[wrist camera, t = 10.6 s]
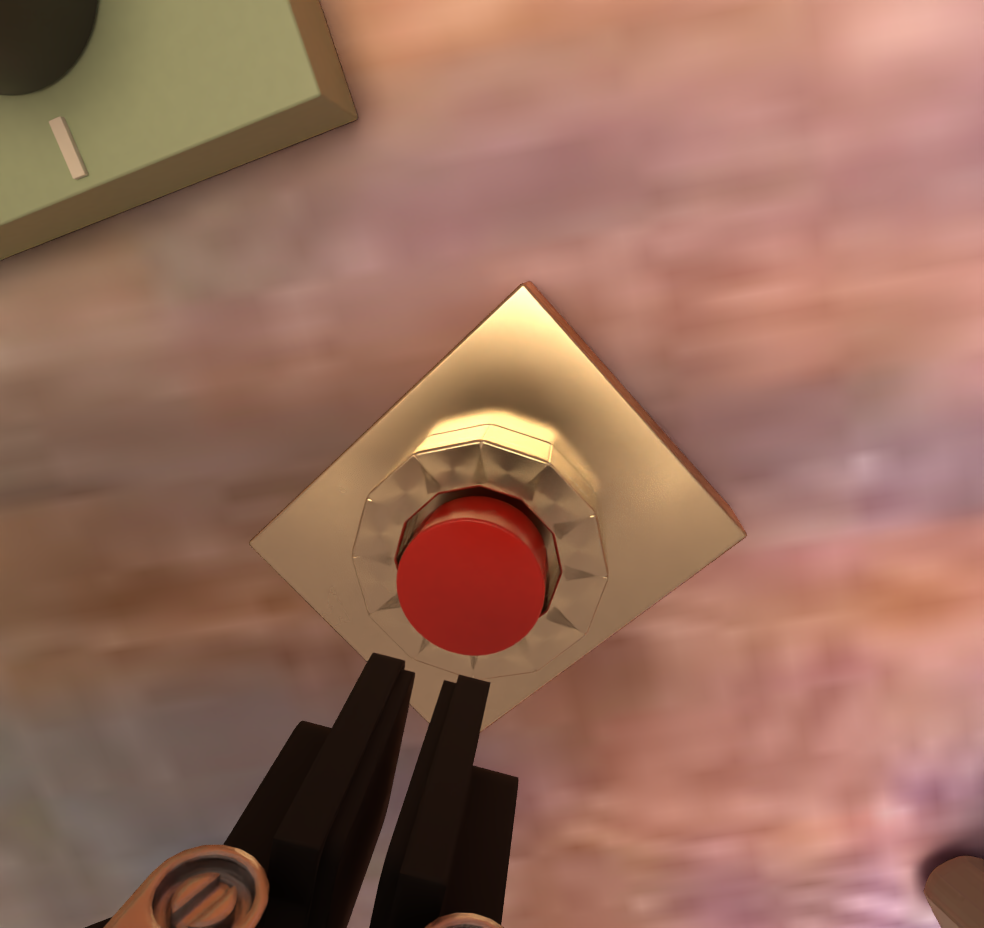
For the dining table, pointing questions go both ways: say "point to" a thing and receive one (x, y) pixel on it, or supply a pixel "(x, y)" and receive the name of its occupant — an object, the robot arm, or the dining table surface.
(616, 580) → the button box
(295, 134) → the dial panel
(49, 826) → the dining table surface
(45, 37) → the dial knob
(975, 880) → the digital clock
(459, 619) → the button
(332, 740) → the robot arm
